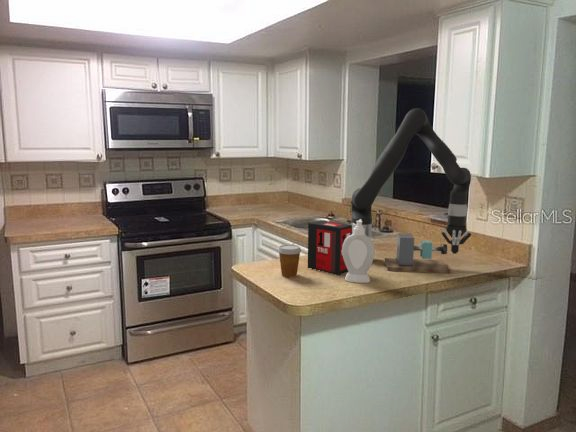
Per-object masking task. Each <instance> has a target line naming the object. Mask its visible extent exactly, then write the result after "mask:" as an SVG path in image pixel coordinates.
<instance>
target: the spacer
mask: <svg viewBox="0 0 576 432" xmlns="http://www.w3.org/2000/svg"><path fill="white" fill-rule="evenodd" d="M420 246H422V251H419V252H420V253H419V256H420V258H421V259H425V260H432V257H433V256H432V255H433V254H432V253H433V251H432V246H433V242H432V241H430V240H420Z"/></svg>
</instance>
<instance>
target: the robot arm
mask: <svg viewBox="0 0 576 432" xmlns="http://www.w3.org/2000/svg"><path fill="white" fill-rule="evenodd" d="M415 135H416V136H418V137H419V138H420V140H421V141H423V143H424V144H425V145H426V146H427V148H428V149H429V151H430V152H431V154H432V156H433V157H434V158H435V160H436V161H437V162H438V164H439V165H440V166H441V167H442V169H443V171H444V174H445V175H446V177H447V179H448V181H450V183H451V184H453V188H452V190H451V191H450V194H449V202H448V203H449V204H448V211H447V226H446V227H445V229H444V230H442V231H440V234H441V236H442V237H443V238H444V240H445V241H446V242H447V243H448V244H450V251H451V252H452V254H457V253H459V250H460V249H459V248H460V245H463V244H465V243H466V241H468V239H469V238H470V237H471V236H472V233H470V231H468V230H467V227H466V226H467V215H468V208H467V204H468V192H469V190H470V184H471V181H472V174H471V171H470V170H469V169H468V168H467V167H461V166H460V165H459V163H458V162H457V160H458V159H457V157H456V155H455V154H454V152H453V150H451V149H450V148H449V146H448V145H447V143H445V142H444V141H443V139H441V138H440V137H439V135H438V134H437V133H436V131H434V129H433V127H432V125H431V123H430V121H429V118H428V116H427V114H426V112H425V110H423V109H422V108H419V107H415V108H411V109H410V110H409V111H408V112H407V113H406V114H405V116H404V118H403V120H402V122H401V123H400V125H399V127H398V129H397V131H396V132H395V134H394V135H393V137H392V138H391V139H390V141H389V142H388V144H387V145H386V147H385V148H384V149H383V151H382V152H381V154H380V155H379V156H378V158H377V160H376V161H375V163H374V165H373V167H372V170H371V172H370V175H369V176H368V178H367V179H366V181H364V184H362V186H361V187H359V188H356V189H355V190H354V192H353V193H352V196H351V225H352V234H353V228H355V226H357V222H356V221H359V220H360V219H362V226H363V228H365V235H366V236H368V237H370V239H371V240H372V228H373V227H372V226H373V223H372V222H373V216H372V205H374V201H376V198H377V196H378V194H379V193H380V191H381V189H382V188H383V186H384V185H385V184H386V183H387V181H388V180H389V179H390V177H391V176H392V174H393V173H394V172H395V171H396V170H397V168H398V166H399V165H400V163H401V162H402V160H404V159H403V158H404V156H405V154H406V151H407V149H408V146H409V144H410V142H411V140H412V139H413V137H414V136H415ZM448 235H449V236H450V239H449V237H448ZM463 235H464V236H463Z"/></svg>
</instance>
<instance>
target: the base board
mask: <svg viewBox="0 0 576 432" xmlns="http://www.w3.org/2000/svg"><path fill="white" fill-rule="evenodd" d="M384 263H385V267H386V271H390V272H409V273H410V272H414V273H415V272H416V273H417V272H418V273H434V274H435V273H437V274H439V273H440V274H441V273H442V274H450V273H451V269H450V268H449V266H448V265H447V264H446V262H445V261H444V260H443V259H422V258H421V259H420V258H419V259H418V258H413V266H399V265H398V263H397V260H396V258H395V257H393V258H392V257H391V258H390V257H385V258H384Z"/></svg>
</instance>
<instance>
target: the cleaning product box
mask: <svg viewBox="0 0 576 432" xmlns="http://www.w3.org/2000/svg"><path fill="white" fill-rule="evenodd" d="M349 235H352V224H347V223H341V222H340V223H339V222H333V221H325V220H316V221H312V222H308V229H307V236H308V237H307V269H309V268H312V269H311V270H313V269H316V270H315V271H318V270H320V271H319V272H322V271H324V272H323V273H326V272H328V273H327V274H331V273H332V275H335V274H336V275H335V276H341V274H342V275H344V274H347V273H348V269H347V267H346V264H345V262H344V259H343V255H342V246H343V243H344V240H345V239H346V238H347V237H348V236H349ZM346 272H347V273H346Z"/></svg>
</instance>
